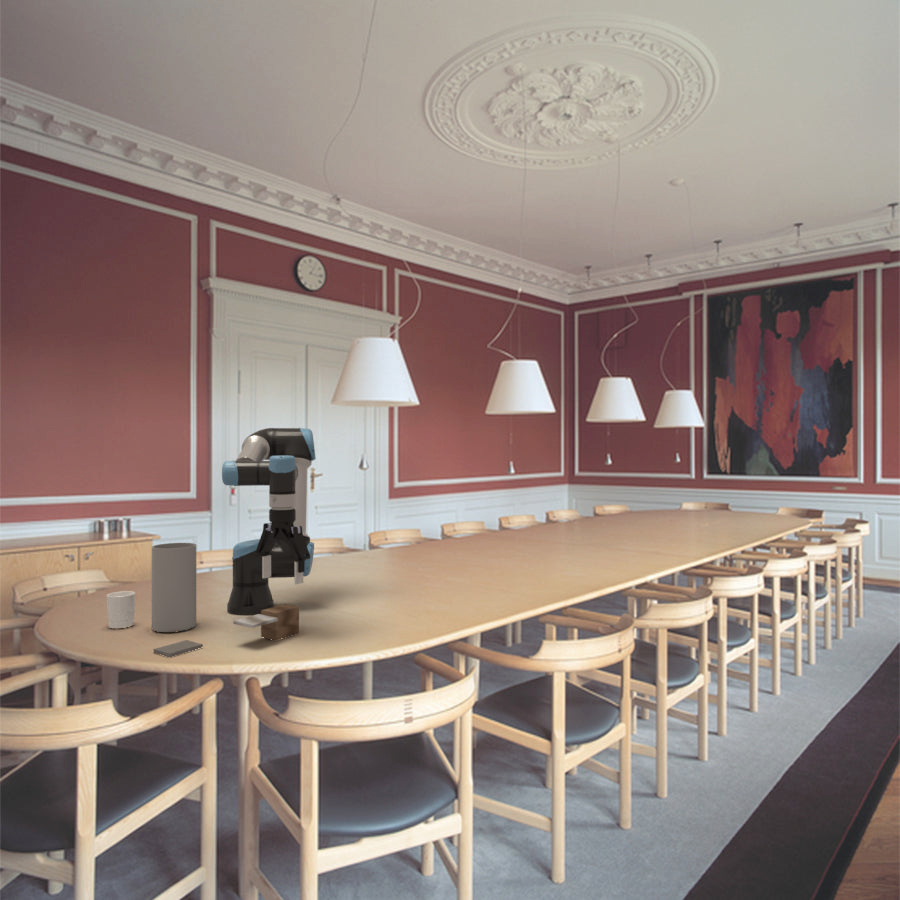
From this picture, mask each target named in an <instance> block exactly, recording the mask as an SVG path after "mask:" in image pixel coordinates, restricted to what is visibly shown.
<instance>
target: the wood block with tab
mask: <svg viewBox="0 0 900 900" xmlns="http://www.w3.org/2000/svg"><path fill="white" fill-rule="evenodd" d="M232 621H233V622H232V624H233V625H238V626H243V627H246V628H251V629H254V628H257V627H260V638H261V637H264V638H268V639H272V640H278V639H281V638H284V639H286V638H285V637H287V638H289V637H288V636H290V637H292V636H291V635H293V636H296V635H295V634H297V635H299V634H300V606H297V605H292V604H286V603H283V604H280V605H276V606H274V607H272V608H268V609H264V610H261V613H258V614H252V615H250V616H247V617H243V618H239V619H235V620H232ZM298 633H299V634H298ZM264 638H263V639H264ZM268 639H267V640H268ZM272 640H271V641H272ZM281 640H282V639H281ZM278 641H279V640H278Z"/></svg>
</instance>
